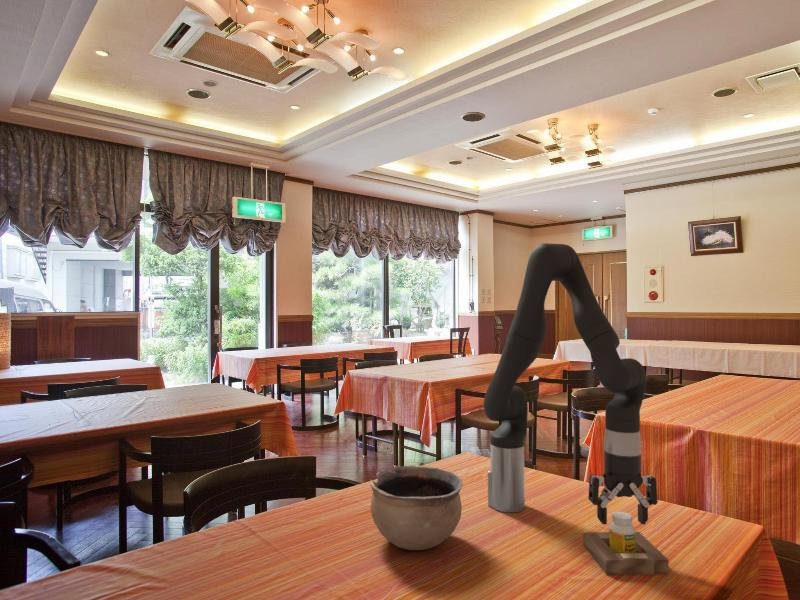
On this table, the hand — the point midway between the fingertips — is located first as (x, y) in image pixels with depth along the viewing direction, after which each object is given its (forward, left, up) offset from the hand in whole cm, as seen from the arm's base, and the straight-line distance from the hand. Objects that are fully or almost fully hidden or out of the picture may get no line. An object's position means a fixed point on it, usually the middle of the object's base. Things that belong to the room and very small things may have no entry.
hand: (622, 522), depth 113 cm
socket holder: (0, 0, -8) cm, 8 cm away
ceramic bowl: (-42, -19, -8) cm, 47 cm away
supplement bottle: (0, 0, -8) cm, 8 cm away
